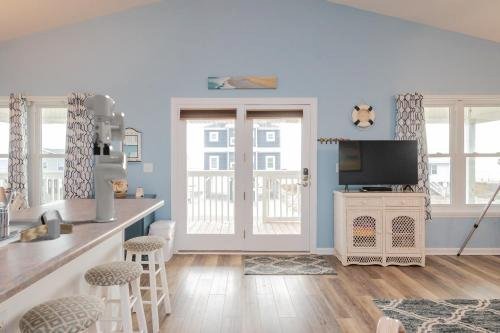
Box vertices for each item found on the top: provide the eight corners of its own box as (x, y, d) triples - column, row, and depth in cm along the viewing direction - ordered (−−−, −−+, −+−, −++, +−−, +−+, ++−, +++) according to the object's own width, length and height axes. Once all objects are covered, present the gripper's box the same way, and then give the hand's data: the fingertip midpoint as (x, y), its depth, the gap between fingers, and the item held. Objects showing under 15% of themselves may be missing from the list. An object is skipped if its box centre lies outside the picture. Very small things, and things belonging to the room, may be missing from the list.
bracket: (60, 237, 147) (60, 219, 146) (54, 239, 143) (54, 220, 142) (42, 236, 147) (42, 218, 147) (36, 239, 143) (36, 220, 143)
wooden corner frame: (48, 232, 156) (48, 223, 156) (73, 232, 156) (73, 224, 155) (20, 241, 138) (20, 232, 138) (48, 242, 138) (48, 232, 137)
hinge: (53, 231, 157) (45, 211, 156) (43, 235, 156) (35, 215, 155) (67, 224, 173) (60, 206, 173) (57, 227, 173) (50, 209, 172)
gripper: (101, 118, 155) (100, 155, 155) (116, 122, 172) (116, 155, 173) (85, 118, 155) (85, 155, 156) (102, 122, 172) (102, 155, 173)
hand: (101, 155), depth 164 cm, fingers open, 9 cm apart
